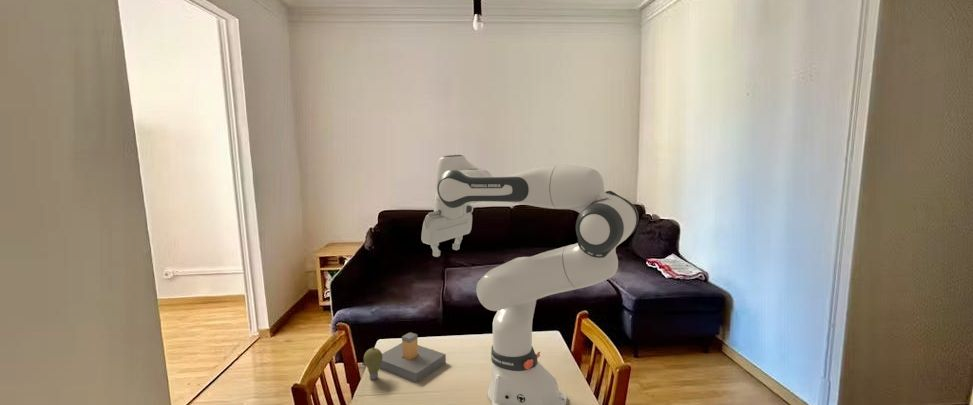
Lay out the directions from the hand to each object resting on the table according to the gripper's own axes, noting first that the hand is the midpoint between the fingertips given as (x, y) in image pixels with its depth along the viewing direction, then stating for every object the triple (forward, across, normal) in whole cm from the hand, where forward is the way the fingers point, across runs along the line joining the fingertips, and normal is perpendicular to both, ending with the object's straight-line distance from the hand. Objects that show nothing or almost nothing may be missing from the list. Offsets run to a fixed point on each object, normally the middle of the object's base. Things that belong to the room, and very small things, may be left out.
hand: (446, 252), depth 129 cm
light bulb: (+40, -16, +13) cm, 45 cm away
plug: (+39, -4, +9) cm, 41 cm away
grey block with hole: (+40, -4, +9) cm, 41 cm away
